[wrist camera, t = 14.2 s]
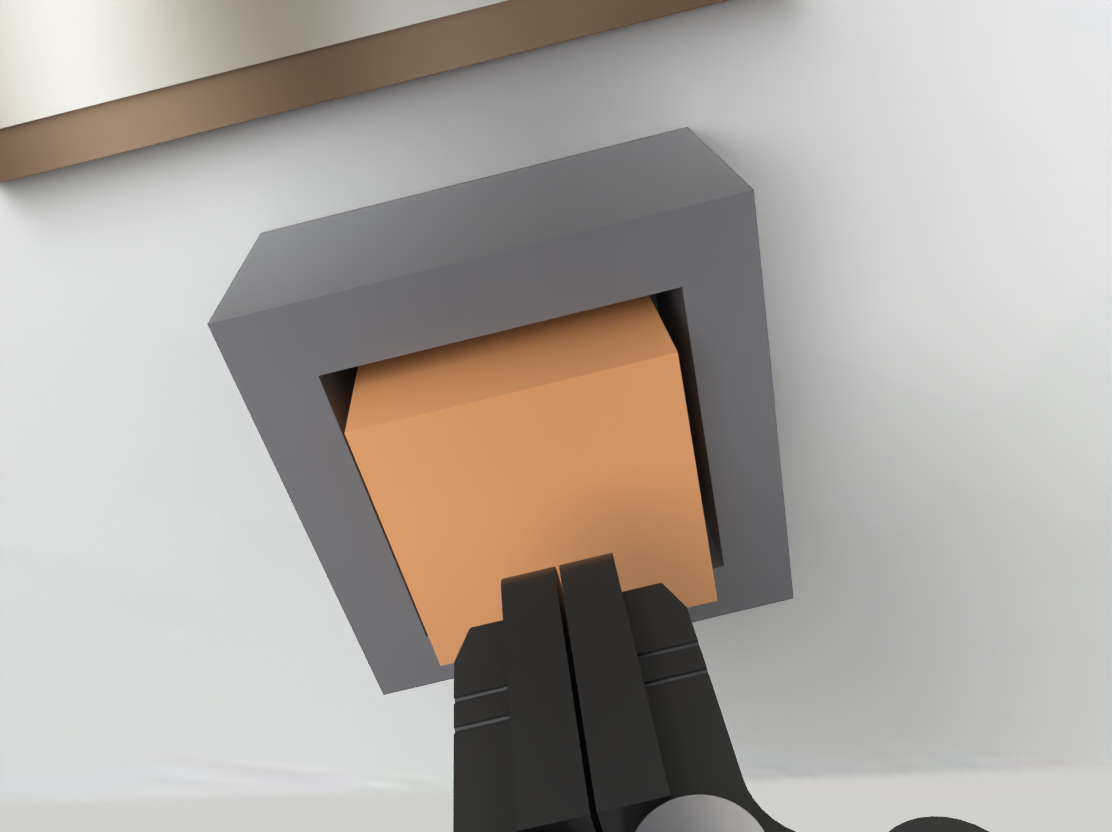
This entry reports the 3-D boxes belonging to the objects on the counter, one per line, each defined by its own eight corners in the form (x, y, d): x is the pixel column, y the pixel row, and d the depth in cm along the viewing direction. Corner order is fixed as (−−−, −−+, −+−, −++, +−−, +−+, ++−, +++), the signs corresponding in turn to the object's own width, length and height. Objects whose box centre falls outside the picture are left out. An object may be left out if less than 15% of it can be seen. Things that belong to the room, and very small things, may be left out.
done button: (442, 552, 17) (440, 666, 15) (363, 340, 15) (344, 433, 12) (677, 495, 17) (718, 600, 14) (638, 273, 15) (677, 352, 12)
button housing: (395, 559, 20) (383, 694, 16) (260, 233, 16) (207, 323, 12) (734, 478, 20) (793, 598, 16) (687, 127, 16) (752, 190, 12)
